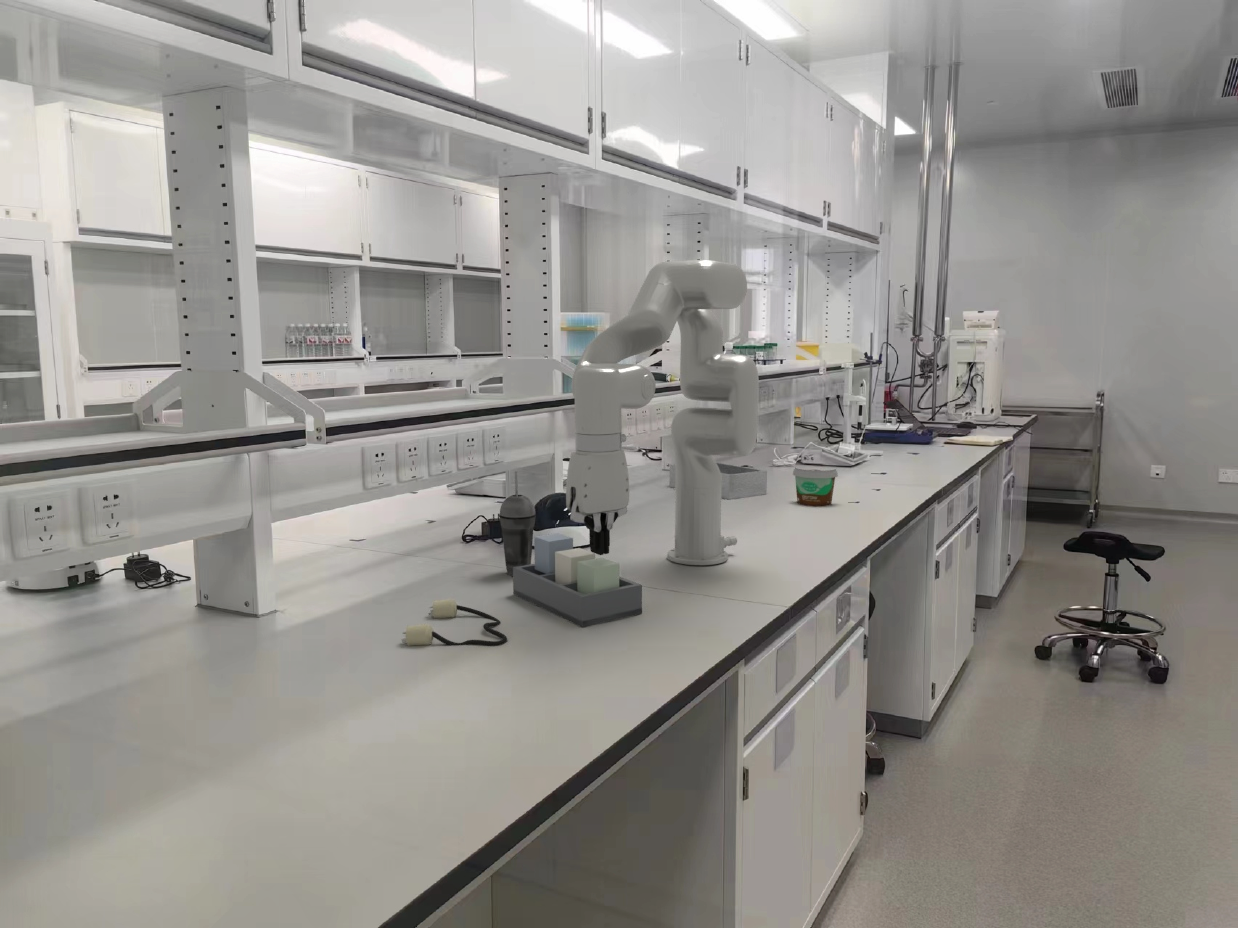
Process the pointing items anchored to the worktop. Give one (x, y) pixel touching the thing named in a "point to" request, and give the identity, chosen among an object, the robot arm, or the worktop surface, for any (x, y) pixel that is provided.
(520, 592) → the box
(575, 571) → the key ivory
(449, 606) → the cable
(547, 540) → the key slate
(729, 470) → the grey storage bin
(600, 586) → the key sage
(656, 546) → the worktop surface
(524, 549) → the beverage cup
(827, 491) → the food container
